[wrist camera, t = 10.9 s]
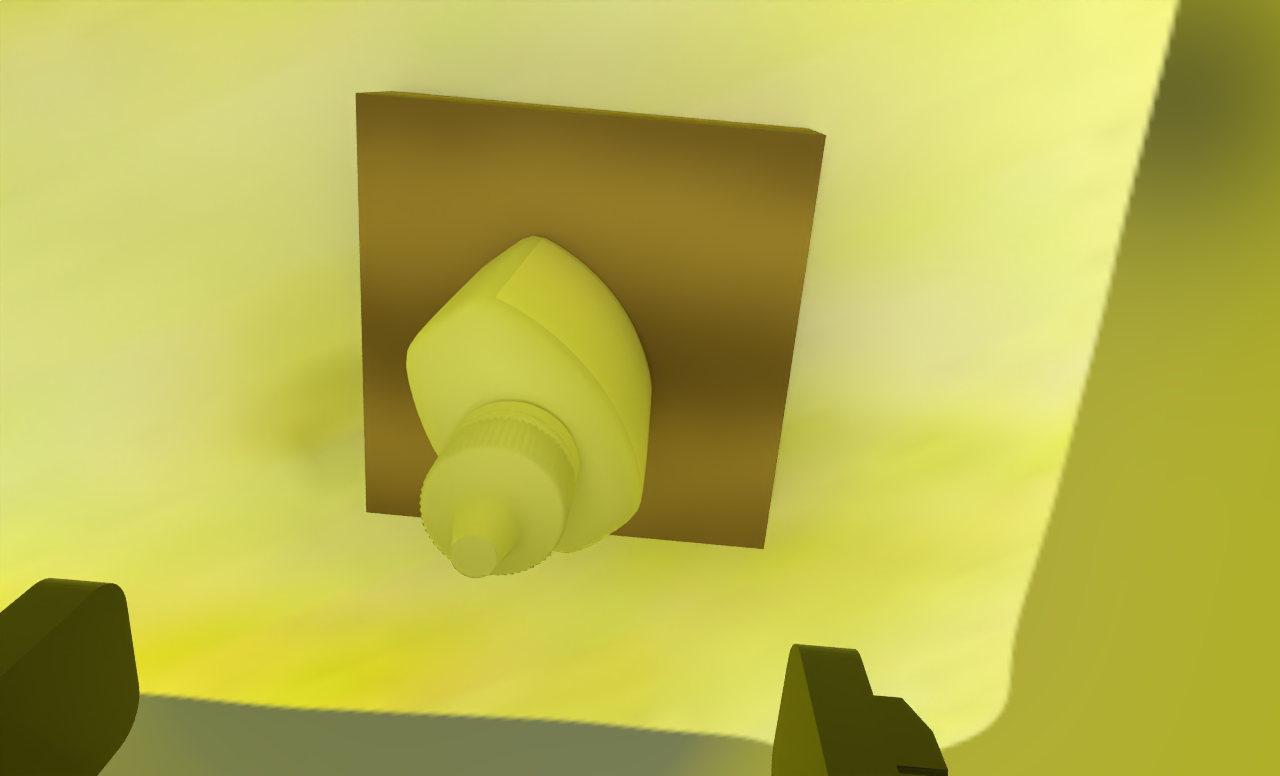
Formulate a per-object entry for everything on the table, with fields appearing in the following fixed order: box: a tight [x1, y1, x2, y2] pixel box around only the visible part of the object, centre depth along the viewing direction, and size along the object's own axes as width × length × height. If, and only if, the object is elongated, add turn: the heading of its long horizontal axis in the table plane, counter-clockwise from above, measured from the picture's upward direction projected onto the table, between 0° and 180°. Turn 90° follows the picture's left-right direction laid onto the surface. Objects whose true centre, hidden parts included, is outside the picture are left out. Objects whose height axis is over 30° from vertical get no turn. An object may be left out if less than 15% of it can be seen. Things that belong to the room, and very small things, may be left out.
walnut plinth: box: [356, 91, 826, 549], centre depth 25 cm, size 12×12×3 cm
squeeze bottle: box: [406, 236, 652, 578], centre depth 18 cm, size 4×6×12 cm
